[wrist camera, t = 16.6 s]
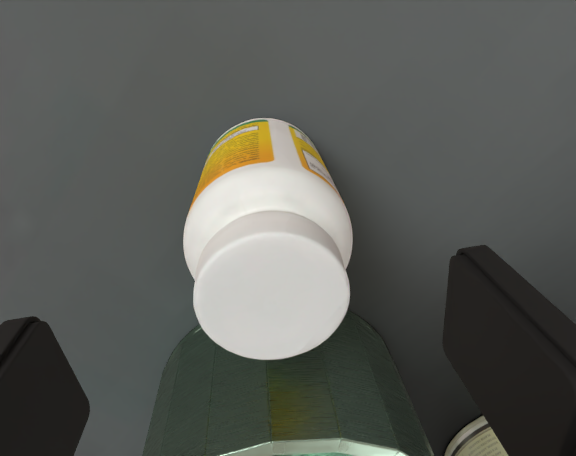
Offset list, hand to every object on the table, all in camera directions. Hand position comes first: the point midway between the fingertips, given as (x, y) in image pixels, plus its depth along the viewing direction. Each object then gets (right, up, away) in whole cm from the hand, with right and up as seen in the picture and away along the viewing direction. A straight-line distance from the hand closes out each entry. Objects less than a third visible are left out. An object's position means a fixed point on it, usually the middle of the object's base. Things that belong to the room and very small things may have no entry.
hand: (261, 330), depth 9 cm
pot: (0, -8, +16) cm, 18 cm away
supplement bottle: (-1, +5, +9) cm, 11 cm away
